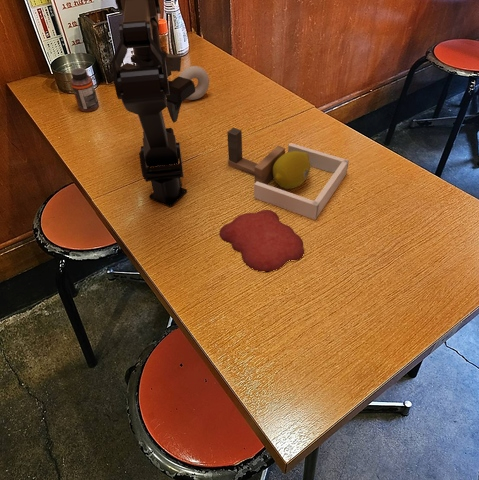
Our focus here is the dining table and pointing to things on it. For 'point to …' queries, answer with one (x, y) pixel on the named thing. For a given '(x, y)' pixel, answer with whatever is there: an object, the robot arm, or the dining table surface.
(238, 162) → the scraper
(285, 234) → the red spill
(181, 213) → the dining table surface
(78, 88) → the supplement bottle
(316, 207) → the box
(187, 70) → the donut
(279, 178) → the lemon
